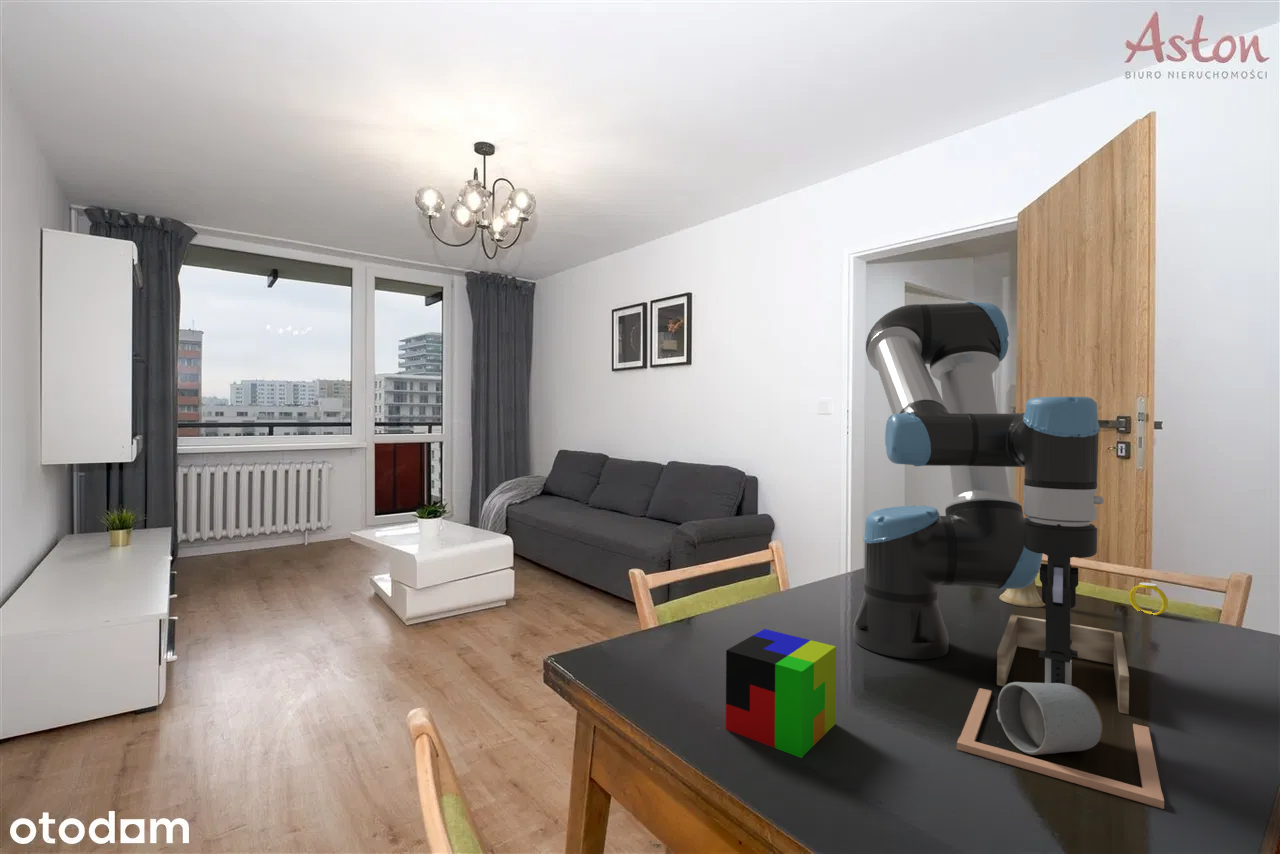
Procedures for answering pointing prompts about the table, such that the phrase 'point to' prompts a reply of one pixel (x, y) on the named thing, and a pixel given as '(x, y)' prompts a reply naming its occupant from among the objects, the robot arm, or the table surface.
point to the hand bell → (1023, 596)
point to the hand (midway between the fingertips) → (1057, 709)
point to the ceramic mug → (1048, 717)
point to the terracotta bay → (1145, 755)
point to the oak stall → (1084, 640)
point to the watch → (1155, 588)
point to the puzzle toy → (781, 690)
